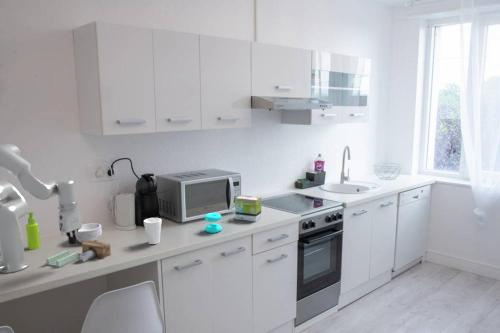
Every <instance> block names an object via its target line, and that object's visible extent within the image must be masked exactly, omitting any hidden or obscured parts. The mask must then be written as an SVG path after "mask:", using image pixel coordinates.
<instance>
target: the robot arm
mask: <svg viewBox="0 0 500 333" xmlns="http://www.w3.org/2000/svg"><path fill="white" fill-rule="evenodd" d="M21 153H22V152H21V150H20V148H19V147H18V146H17V145H15V144H13V143H6V144H0V167H1V168H2V169H3V170H5V171H7V172H8V173H9V174H11V175H12V176H13V177H15V178H16V179H17V182H18V183H19V185H20V187H21V188H22V189H23V190H24V191H26V192H27V193H28V194H30V195H31V196H32V197H34V198H35V199H37V200H40V201H46V200H48V199H50V198H53V197H56V196H57V197H58V207H57V209H58V210H59V211H58V226H59V227H58V228H59V231H60V232H61V234H60V235H61V236H66V237H68V244H69V245H76V244H77V239H76V235H77V232H78V230H79V229H81V227H82V226H83V225H84V224H83V217H82V213H81V211H80V210H81V209H80V207H78V201H77V195H76V184H75V182H74V180H72V179H64V180H60V179H59V180H58V179H49V180H47V181H44V182H41V180H39V179H38V178H36V176H35V175H33V173H32V172H31V169H32V168H31V167H32V165H31V163H30V162H29V161H27V160H26V159H25V158H24V157H22V156H21ZM0 203H1V204H0V256H1V257H0V258H1V260H0V273H3V274H5V273H6V274H8V273H15V272H20V271H23V270H24V269H25V270H26V268H28V267H29V266H30V261H29V260H27V259H26V255H25V246H24V245H25V244H24V238H23V230H22V226H21V224H20V222H19V220H20V219H22V218H23V217H25V216H26V215H28V214H27V213H28V212H30V211H29V210H30V208H29V204H28V202H27V200H26V199H25V198H24V197H23V195H22V194H21V193H20V192H19V190H18V189H17V188H16V187H15V185H13V184H12V183H11V182H9V181H6V180H0Z"/></svg>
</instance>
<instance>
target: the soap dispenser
mask: <svg viewBox="0 0 500 333" xmlns="http://www.w3.org/2000/svg"><path fill="white" fill-rule="evenodd" d="M34 213H35V211H28V213H27V214H26V215H28V216H29V217H28V218H27V222H28V223H27V224H26V225H25V230H26V238H27V239H26V240H27V247H28V250H31V251H32V250H38V249H40V248H41V238H40V237H41V236H40V226H39V223H38V222H36V217H34Z"/></svg>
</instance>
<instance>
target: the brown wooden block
mask: <svg viewBox="0 0 500 333" xmlns="http://www.w3.org/2000/svg"><path fill="white" fill-rule="evenodd" d="M81 248H82V249H81V250H82V254H83V253H85V252H87V251H89V250H91V249H94V248H96V251H97V256H96V257H97V258H100V259H105V257H106V258H108V257H110V256H111V255H112V251H111V250H112V249H111V243H109V242H103V241H102V242H101V241H97V240H96V241H91V240H89V241H86V242H84V243H81ZM107 256H108V257H107Z"/></svg>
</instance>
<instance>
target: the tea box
mask: <svg viewBox="0 0 500 333" xmlns="http://www.w3.org/2000/svg"><path fill="white" fill-rule="evenodd" d="M234 207H235V208H234V211H235V213H234V214H235V216H234V217H235V220H240V221H248V222H255V223H256V222H258V221H259V220H260V219H261V218H262V197H261V196H255V195H246V194H245V195H244V194H240V195H239V196H237V197H235V198H234Z"/></svg>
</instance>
